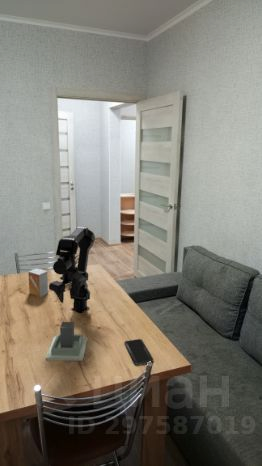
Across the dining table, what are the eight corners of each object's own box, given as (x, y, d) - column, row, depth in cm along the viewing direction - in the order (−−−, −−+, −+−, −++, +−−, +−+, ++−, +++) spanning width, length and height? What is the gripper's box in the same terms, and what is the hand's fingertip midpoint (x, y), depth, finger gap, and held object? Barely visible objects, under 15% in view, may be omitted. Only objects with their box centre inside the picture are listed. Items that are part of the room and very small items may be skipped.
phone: (134, 363, 123) (123, 341, 136) (134, 366, 123) (123, 343, 137) (154, 360, 125) (141, 338, 139) (154, 363, 125) (141, 340, 139)
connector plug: (62, 343, 133) (62, 321, 131) (74, 343, 133) (74, 321, 131) (60, 350, 128) (59, 328, 126) (72, 351, 129) (72, 328, 126)
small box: (29, 293, 178) (27, 271, 175) (37, 289, 183) (36, 267, 180) (40, 297, 174) (39, 274, 171) (48, 293, 180) (47, 271, 176)
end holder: (54, 338, 138) (53, 331, 137) (87, 339, 138) (87, 332, 137) (45, 360, 124) (45, 351, 123) (82, 361, 124) (82, 352, 124)
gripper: (67, 276, 130) (68, 312, 134) (97, 263, 145) (96, 296, 149) (47, 270, 135) (48, 305, 139) (78, 258, 151) (78, 290, 155)
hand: (69, 298), depth 145 cm, fingers open, 9 cm apart
